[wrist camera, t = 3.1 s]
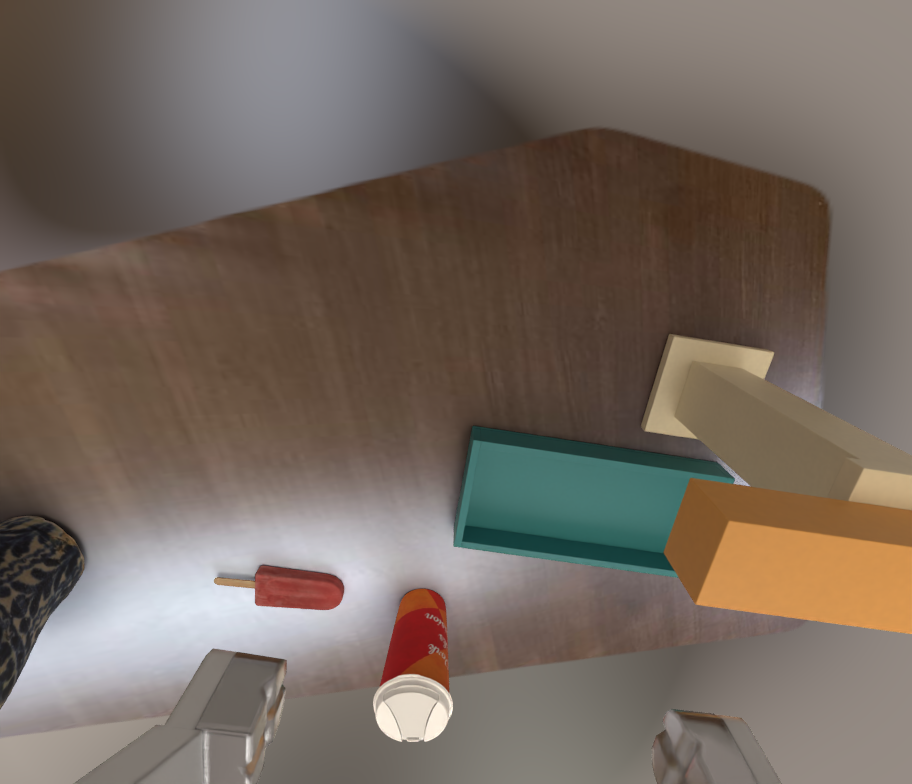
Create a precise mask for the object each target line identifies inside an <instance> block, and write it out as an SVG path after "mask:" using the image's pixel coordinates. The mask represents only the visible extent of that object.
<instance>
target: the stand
mask: <svg viewBox="0 0 912 784" xmlns="http://www.w3.org/2000/svg"><path fill="white" fill-rule="evenodd" d="M773 355H774V352H772V351H770V350H767V349H761V348H755V347H748V346H742V345H736V344H730V343H724V342H717V341H711V340H705V339H699V338H692V337H686V336H680V335H674V334H669V336H668V339H667V343H666V346H665V349H664V352H663V356H662V359H661V362H660V365H659V368H658V372H657V375H656V378H655V381H654V385H653V388H652V391H651V394H650V398H649V401H648V404H647V407H646V411H645V414H644V417H643V420H642V424H641V428H642V429H643V430H644V431H647V432H654V433H660V434H667V435H673V436H680V437H686V438H693V439H699V440H700V441H701V442H703V443H704V444H705V445H706V446H707V447H708V448H709V449H710V450H711V451H713V452H714V453H715V454H716V455H717V456H718V457H719V458H720V459H721V460H722V461H724V462H725V463H726V464H727V465H728V466H729V467H730V468H731V469H732V470H734V471H735V472H736V473H737V474H738V475H739V476H740V477H741V478H742V479H743V480H745V481H746V482H747V483H748V484H749V485H750V486H751V487H756V488H763V489H770V490H777V491H783V492H790V493H797V494H804V495H810V496H817V497H824V498H831V499H837V500H844V501H851V502H858V503H864V504H871V505H878V506H885V507H891V508H898V509H905V510H912V455H910V454H908V453H906V452H904V451H902V450H900V449H898V448H896V447H894V446H892V445H890V444H888V443H886V442H884V441H882V440H880V439H878V438H876V437H875V436H873V435H871V434H869V433H867V432H865V431H863V430H861V429H859V428H857V427H855V426H853V425H851V424H849V423H847V422H845V421H844V420H842V419H840V418H838V417H836V416H834V415H832V414H830V413H828V412H826V411H824V410H822V409H820V408H818V407H816V406H814V405H812V404H811V403H809V402H807V401H805V400H803V399H801V398H799V397H797V396H795V395H793V394H791V393H789V392H787V391H785V390H783V389H781V388H779V387H778V386H776V385H774V384H772V383H770V382H768V381H766V380H764V378H765V376H766V373H767V370H768V368H769V365H770V363H771V360H772V358H773Z"/></svg>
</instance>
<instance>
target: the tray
mask: <svg viewBox="0 0 912 784" xmlns="http://www.w3.org/2000/svg"><path fill="white" fill-rule="evenodd" d="M690 478H696V479H702V480H709V481H716V482H723V483H729V484H733V483H734V480H735V478H734V477H732V476H731V475H730V474H729V473H728V472H727V471H726V470H725V469H724V468H723V467H722V466H721V465H720V464H719V463H717V462H712V461H705V460H698V459H692V458H685V457H678V456H671V455H665V454H658V453H651V452H645V451H638V450H631V449H625V448H618V447H611V446H605V445H598V444H591V443H585V442H578V441H571V440H565V439H558V438H551V437H545V436H538V435H531V434H525V433H518V432H511V431H505V430H498V429H491V428H485V427H478V426H472V431H471V437H470V442H469V448H468V453H467V458H466V464H465V469H464V475H463V480H462V486H461V491H460V497H459V502H458V507H457V513H456V518H455V524H454V547H461V548H468V549H476V550H483V551H490V552H497V553H504V554H512V555H519V556H526V557H533V558H540V559H548V560H555V561H562V562H569V563H576V564H584V565H591V566H598V567H605V568H612V569H620V570H627V571H634V572H641V573H648V574H656V575H663V576H670V577H677V578H679V577H678V575H677V574H676V572H675V571H674V569H673V567H672V566H671V564H670V562H669V561H668V559H667V558H666V556H665V554H664V549H665V547H666V544H667V541H668V538H669V536H670V533H671V530H672V527H673V524H674V522H675V519H676V516H677V513H678V510H679V508H680V505H681V502H682V499H683V497H684V494H685V491H686V488H687V485H688V483H689V480H690Z"/></svg>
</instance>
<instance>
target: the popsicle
mask: <svg viewBox="0 0 912 784" xmlns="http://www.w3.org/2000/svg"><path fill="white" fill-rule="evenodd" d="M214 583H215V584H217V585H225V586H235V587H245V588H255V604H256V605H258V606H270V607H286V608H301V609H315V610H329V609H333V608H335V607H336V606H338V605H339V604H340V602H341V600H342V598H343V594H344V586H343V583H342V582H341V581H340V580H339V579H338V578H337V577H335V576H333V575H329V574H324V573H316V572H309V571H301V570H294V569H286V568H279V567H271V566H260V567H259V569H258V570H257V572H256V574H255V581H250V580H240V579H230V578H220V577H217V578H215V579H214Z"/></svg>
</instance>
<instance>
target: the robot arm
mask: <svg viewBox="0 0 912 784" xmlns="http://www.w3.org/2000/svg"><path fill="white" fill-rule="evenodd" d="M286 667H287V660H284V659H278V658H272V657H266V656H259V655H253V654H247V653H241V652H233V651H226V650H219V649H212V650H211V651H210V652H209V653H208V654H207V655H206V656H205V658H204V660H203V661H202V663H201V665H200V666H199V668H198V670H197V671H196V673H195V675H194V676H193V678H192V680H191V681H190V683H189V685H188V686H187V688H186V690H185V691H184V693H183V695H182V696H181V698H180V700H179V702H178V703H177V705H176V707H175V708H174V710H173V712H172V713H171V715H170V717H169V718H168V720H167V722H166V723H165V725H155V726H154V727H153V728H151V729H150V730H148V731H147V732H145V733H144V734H143V735H141V736H140V737H138V738H137V739H136V740H134V741H133V742H131V743H130V744H129V745H127V746H126V747H124V748H123V749H122V750H120V751H119V752H117V753H116V754H115V755H113V756H112V757H110V758H109V759H107V760H106V761H105V762H103V763H102V764H100V765H99V766H98V767H96V768H95V769H93V770H92V771H91V772H89V773H88V774H86V775H85V776H84V777H82V778H81V779H79V780H78V781H77V782H75V783H74V784H257V783H258V780H259V777H260V775H261V772H262V770H263V767H264V758H265V748H266V747H267V746H268V745H269V744H270V743H272V742H273V739H274V737H275V734H276V731H277V728H278V725H279V721H280V718H281V714H282V710H283V705H284V699H285V687H284V686H283V685H282V682H283V680H284V677H285V675H286ZM663 724H664V726H665V729H666V730H664V731H663V732H661V733H660V734H658V735H657V736H656V738H655V741H654V744H653V746H652V766H653V771H654V775H655V779H656V782H657V784H782V783H781V781H780V780H779V778H778V776H777V774H776V773H775V771H774V769H773V768H772V766H771V764H770V762H769V761H768V759H767V757H766V755H765V754H764V752H763V750H762V748H761V747H760V745H759V743H758V742H757V740H756V738H755V736H754V735H753V733H752V731H751V729H750V728H749V726H748V725H747V723H746V722H745V721H744V720H743V719H742V718H738V717H730V716H722V715H715V714H711V713H702V712H693V711H684V710H676V709H671V710H669V711H668V712H666V714H665V716H664V719H663Z"/></svg>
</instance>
